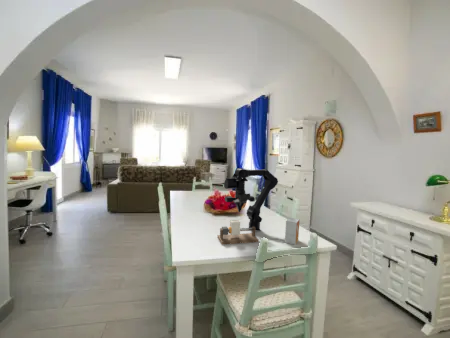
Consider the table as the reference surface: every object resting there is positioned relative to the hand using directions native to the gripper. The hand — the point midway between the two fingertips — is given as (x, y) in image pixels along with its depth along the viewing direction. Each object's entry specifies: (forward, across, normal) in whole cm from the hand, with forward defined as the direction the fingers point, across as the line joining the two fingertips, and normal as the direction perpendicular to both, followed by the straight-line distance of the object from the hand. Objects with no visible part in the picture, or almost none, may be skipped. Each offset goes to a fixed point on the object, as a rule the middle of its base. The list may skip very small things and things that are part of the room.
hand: (239, 212), depth 154 cm
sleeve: (+9, -7, -14) cm, 18 cm away
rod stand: (+13, -5, -14) cm, 19 cm away
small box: (+13, +26, -22) cm, 36 cm away
